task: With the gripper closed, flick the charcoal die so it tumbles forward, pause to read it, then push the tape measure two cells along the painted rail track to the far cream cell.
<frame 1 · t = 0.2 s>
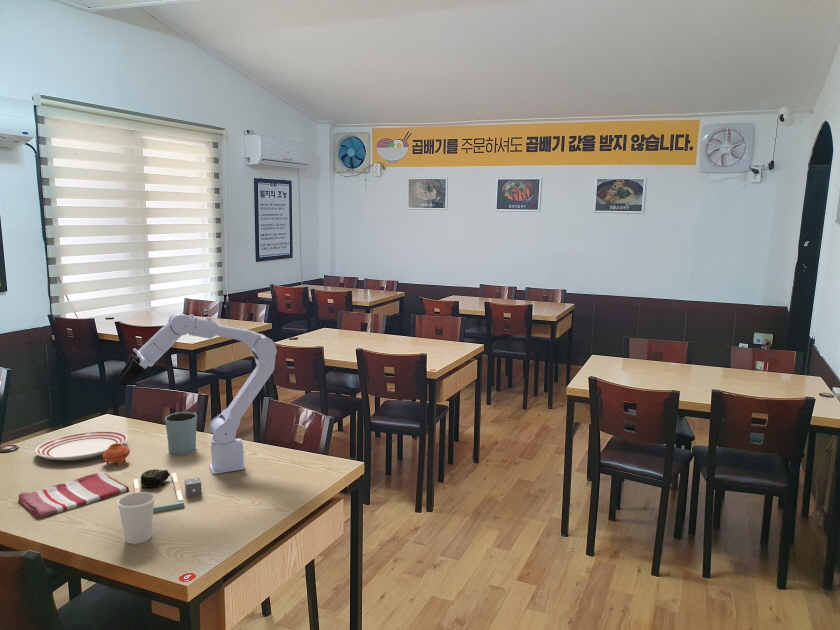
hand: (121, 381, 179), 31 cm above the table, tool tilted 45°, fingers open, 7 cm apart
track: (157, 493, 177), on the table
dinner plate: (83, 452, 210), on the table
die: (193, 494, 177), on the table
dixie cup: (138, 539, 152), on the table
teal cylindrical container: (182, 451, 211), on the table
pot: (117, 463, 200), on the table
dish towel: (74, 498, 175), on the table
tape measure: (156, 485, 184), on the table
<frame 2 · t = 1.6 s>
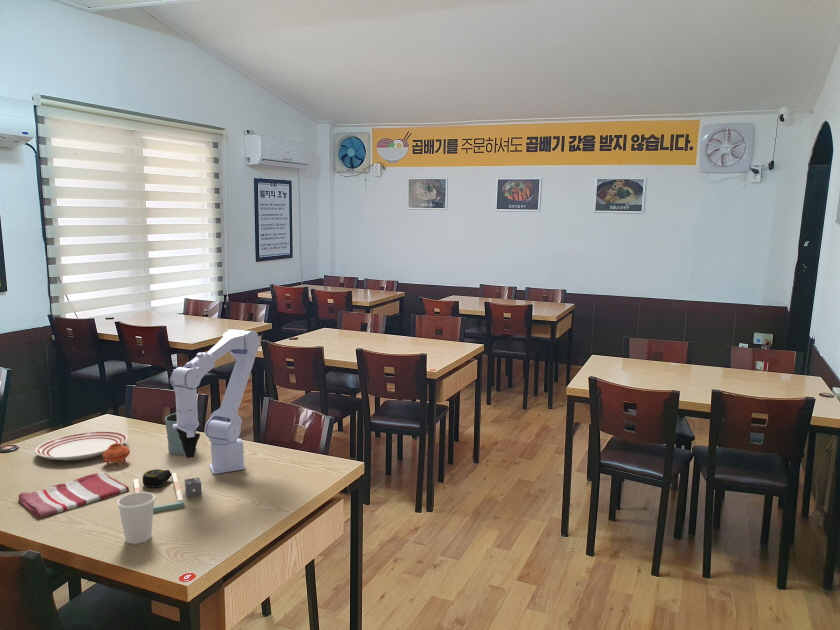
hand: (189, 454, 182), 9 cm above the table, tool pointing down, fingers open, 5 cm apart
nothing on the table moved.
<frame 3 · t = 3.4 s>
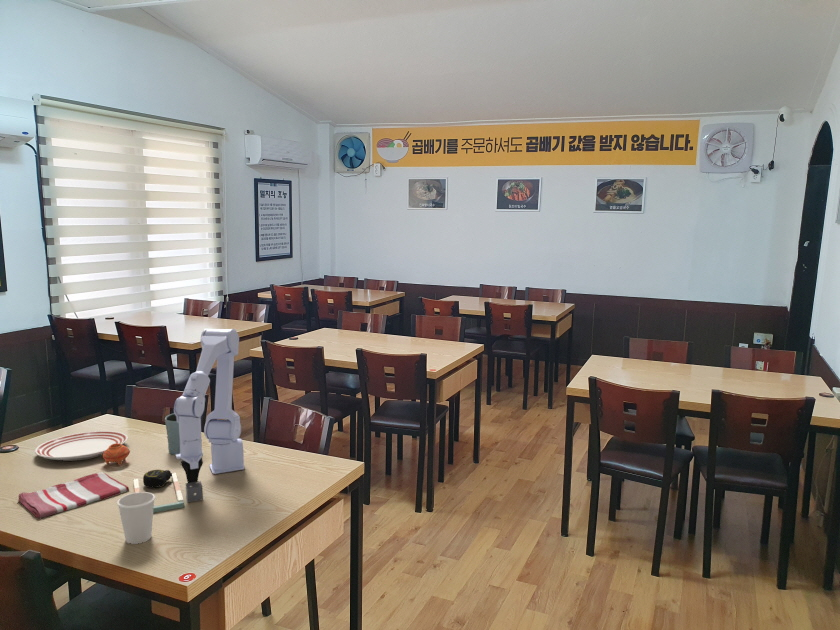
hand: (192, 484, 176), 3 cm above the table, tool pointing down, fingers closed
die: (194, 498, 174), on the table, touching gripper
everything else where it was.
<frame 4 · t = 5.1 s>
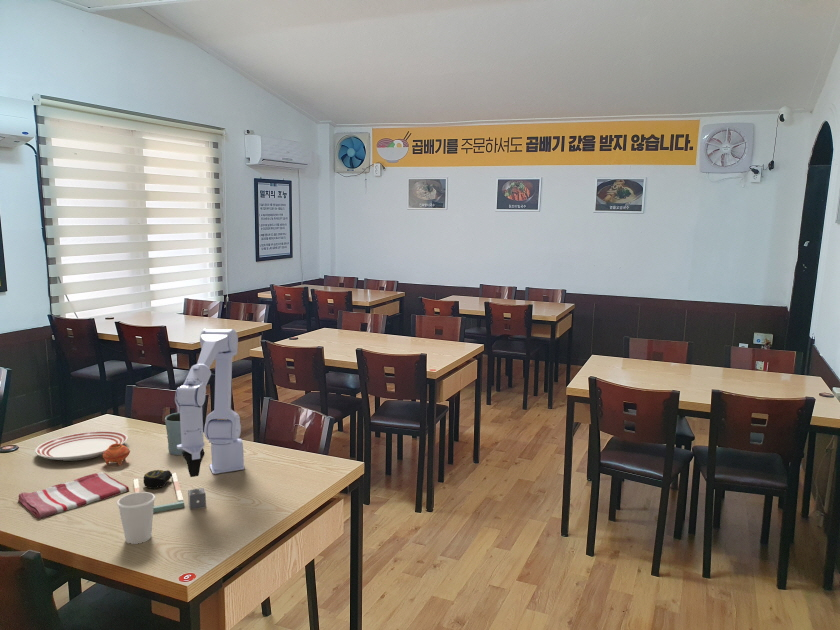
hand: (194, 475, 173), 7 cm above the table, tool pointing down, fingers closed
die: (197, 505, 170), on the table
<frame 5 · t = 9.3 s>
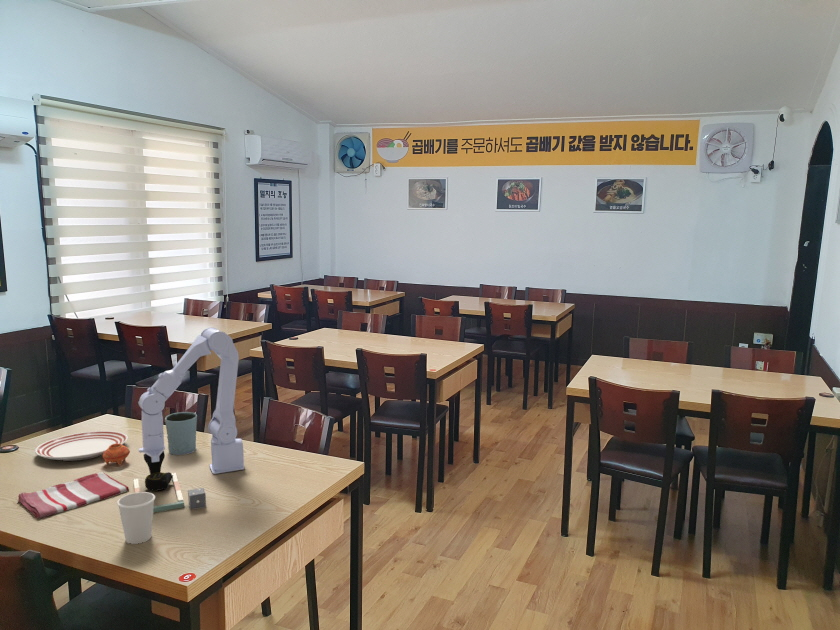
hand: (155, 477, 184), 2 cm above the table, tool pointing down, fingers closed
tape measure: (161, 488, 181), on the table, touching gripper
everything else where it was.
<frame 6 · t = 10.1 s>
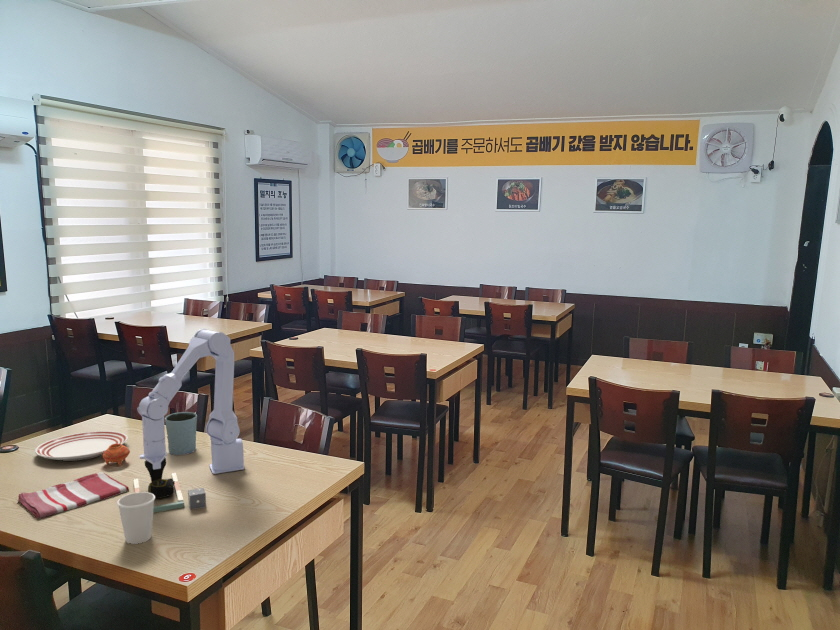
hand: (156, 484, 179), 2 cm above the table, tool pointing down, fingers closed
tape measure: (164, 495, 177), on the table, touching gripper
everything else where it was.
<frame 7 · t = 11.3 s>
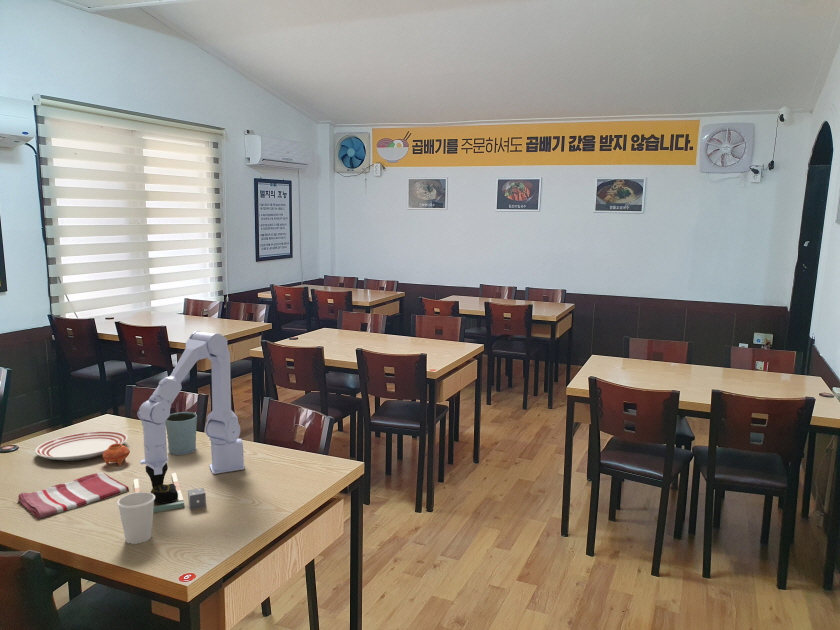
hand: (157, 490, 175), 2 cm above the table, tool pointing down, fingers closed
tape measure: (166, 500, 173), on the table, touching gripper, track
everything else where it was.
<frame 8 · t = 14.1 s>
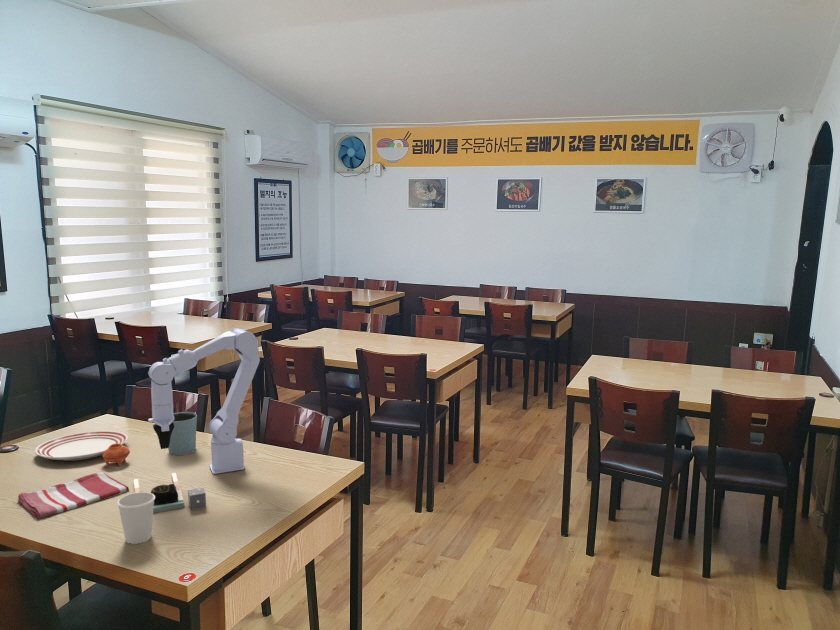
hand: (164, 447, 185), 10 cm above the table, tool pointing down, fingers closed
tape measure: (166, 501, 173), on the table, touching track
everything else where it was.
at the end: tape measure inside the target area (2.4 cm from its centre), on the table; die moved 8.0 cm from its start; tape measure touching table, track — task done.
